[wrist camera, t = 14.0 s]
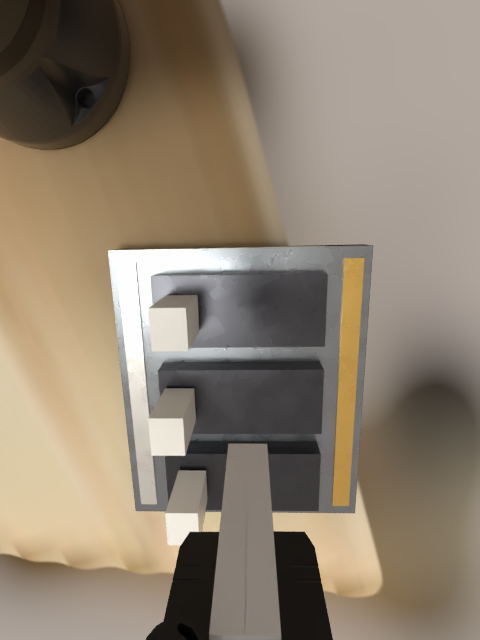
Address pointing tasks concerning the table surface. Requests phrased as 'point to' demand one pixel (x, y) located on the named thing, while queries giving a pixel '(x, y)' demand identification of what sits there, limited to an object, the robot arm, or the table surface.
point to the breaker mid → (172, 422)
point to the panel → (250, 353)
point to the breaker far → (186, 506)
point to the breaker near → (173, 323)
